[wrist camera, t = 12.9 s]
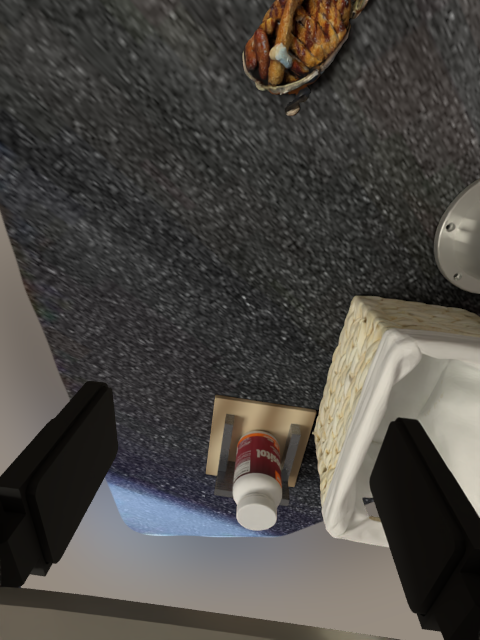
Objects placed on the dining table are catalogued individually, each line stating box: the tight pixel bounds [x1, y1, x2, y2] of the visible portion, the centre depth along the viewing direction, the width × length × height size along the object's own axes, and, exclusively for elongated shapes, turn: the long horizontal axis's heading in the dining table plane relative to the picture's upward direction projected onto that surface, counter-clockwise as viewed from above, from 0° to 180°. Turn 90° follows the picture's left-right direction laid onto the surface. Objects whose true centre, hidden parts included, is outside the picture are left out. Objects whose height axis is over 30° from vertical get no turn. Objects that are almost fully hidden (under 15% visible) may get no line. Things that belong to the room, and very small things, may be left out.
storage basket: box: [312, 296, 480, 547], centre depth 34 cm, size 24×16×15 cm
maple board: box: [206, 395, 316, 487], centre depth 47 cm, size 14×15×1 cm
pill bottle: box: [233, 431, 282, 530], centre depth 41 cm, size 6×6×11 cm
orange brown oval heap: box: [243, 0, 369, 116], centre depth 26 cm, size 7×12×4 cm, turn 145°
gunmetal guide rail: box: [214, 414, 301, 506], centre depth 44 cm, size 10×10×5 cm
